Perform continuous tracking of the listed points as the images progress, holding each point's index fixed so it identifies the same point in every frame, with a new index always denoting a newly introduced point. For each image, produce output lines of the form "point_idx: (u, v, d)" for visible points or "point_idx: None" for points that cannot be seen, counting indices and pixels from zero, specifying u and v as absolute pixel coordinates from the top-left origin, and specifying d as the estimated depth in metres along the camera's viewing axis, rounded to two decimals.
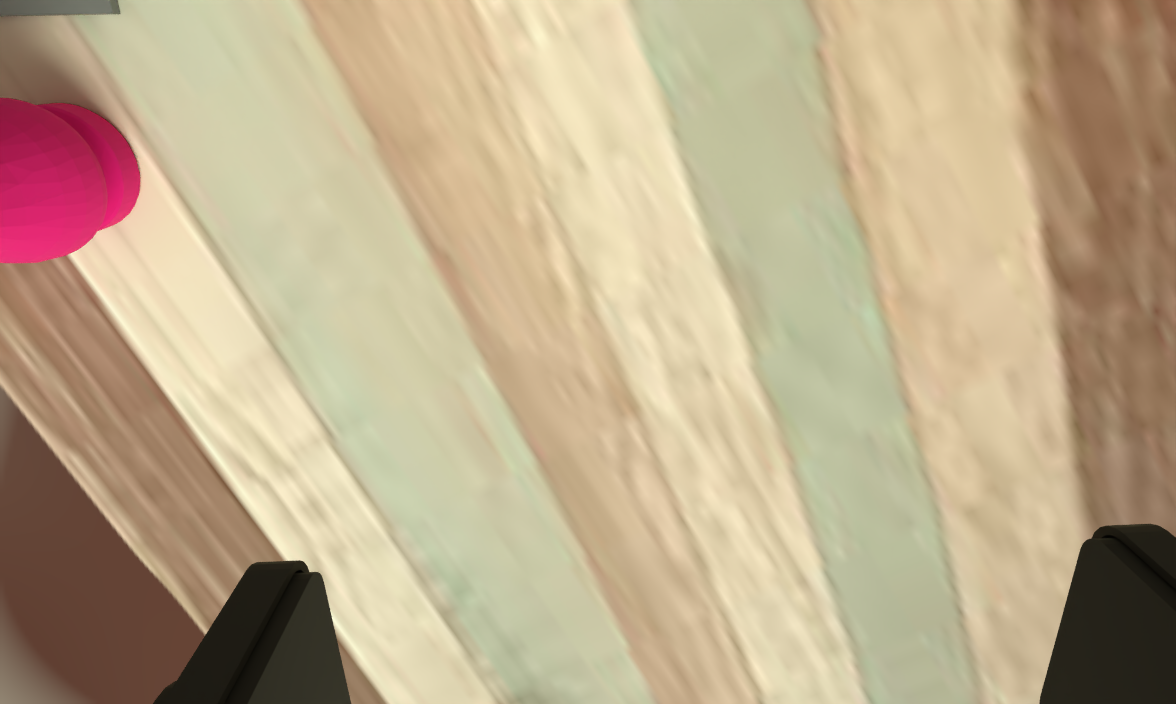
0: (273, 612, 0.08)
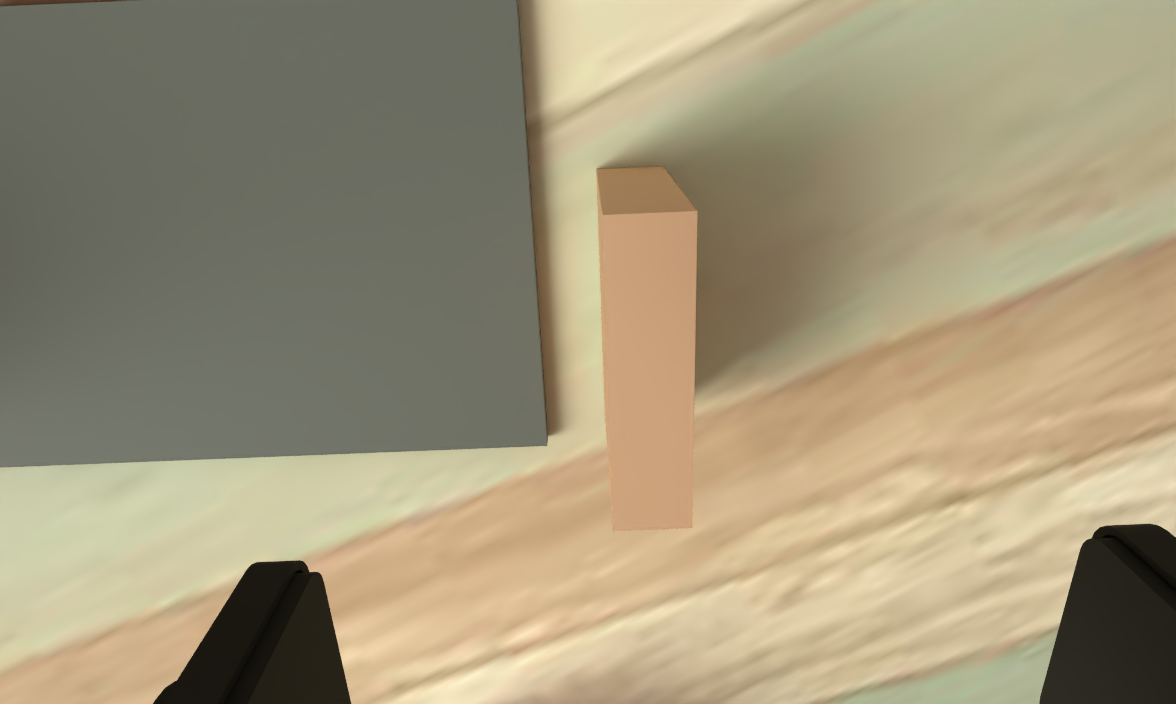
0: (273, 612, 0.08)
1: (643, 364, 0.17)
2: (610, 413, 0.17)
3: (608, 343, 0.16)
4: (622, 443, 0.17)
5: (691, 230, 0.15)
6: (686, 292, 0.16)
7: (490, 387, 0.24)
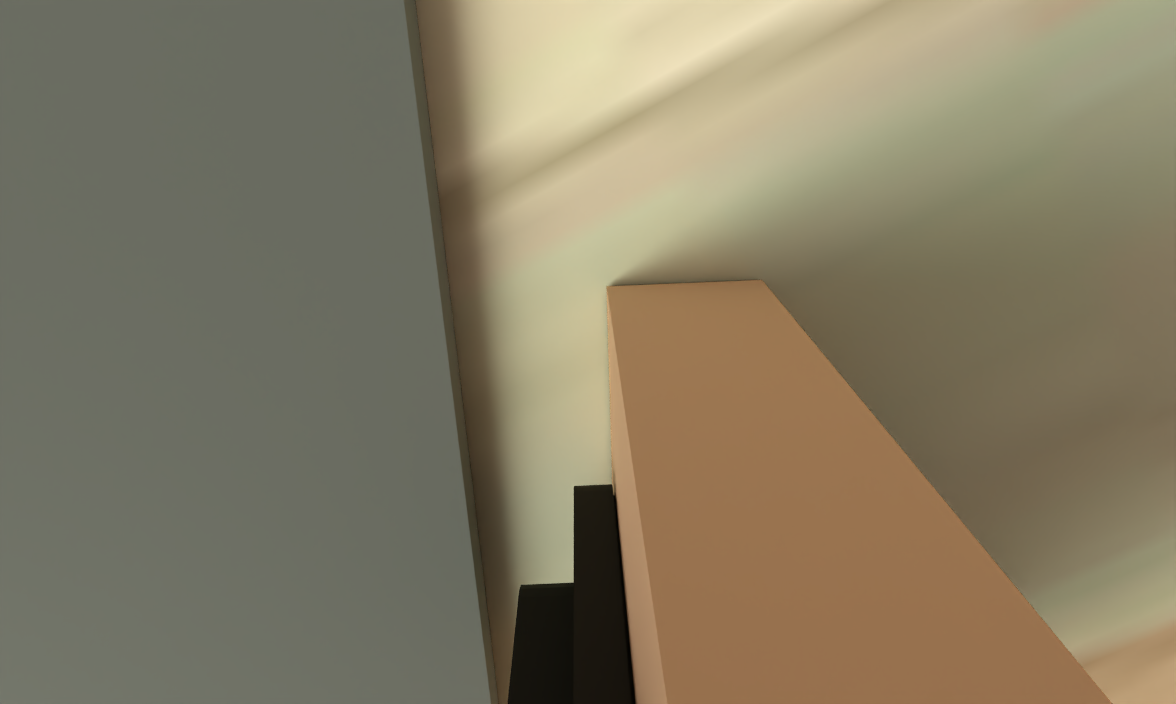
0: (617, 522, 0.09)
1: None
2: None
3: None
4: None
5: None
6: None
7: None
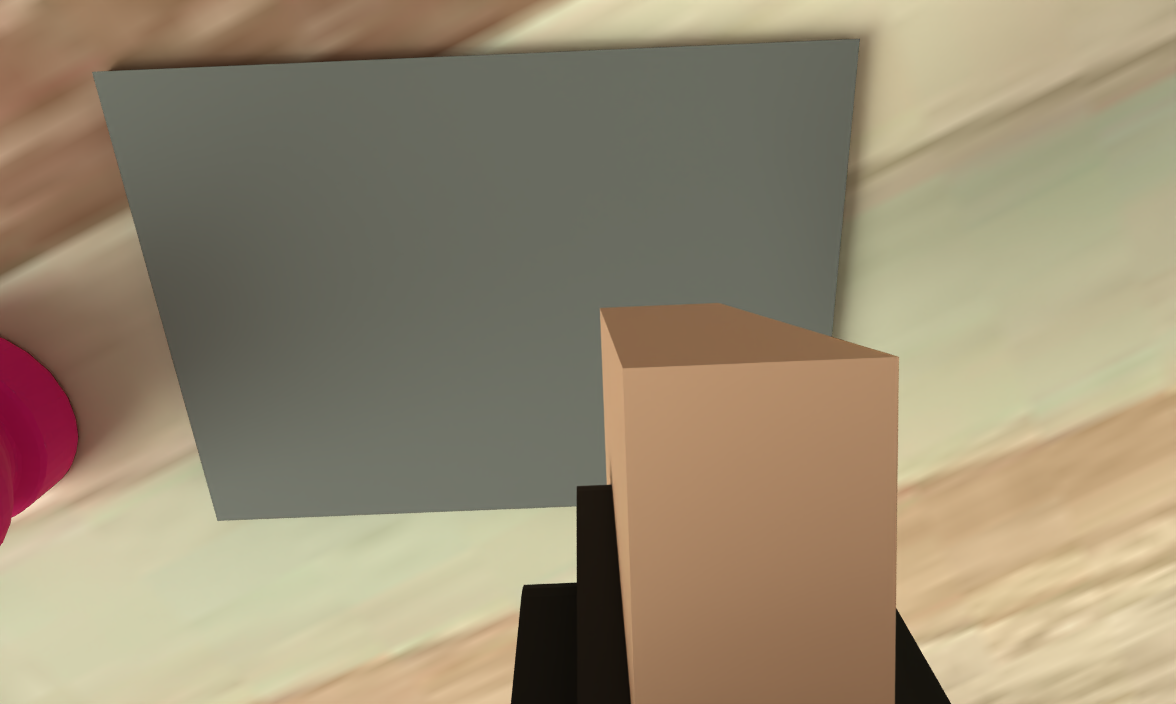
0: None
1: None
2: None
3: None
4: None
5: (880, 413, 0.05)
6: (868, 593, 0.05)
7: None
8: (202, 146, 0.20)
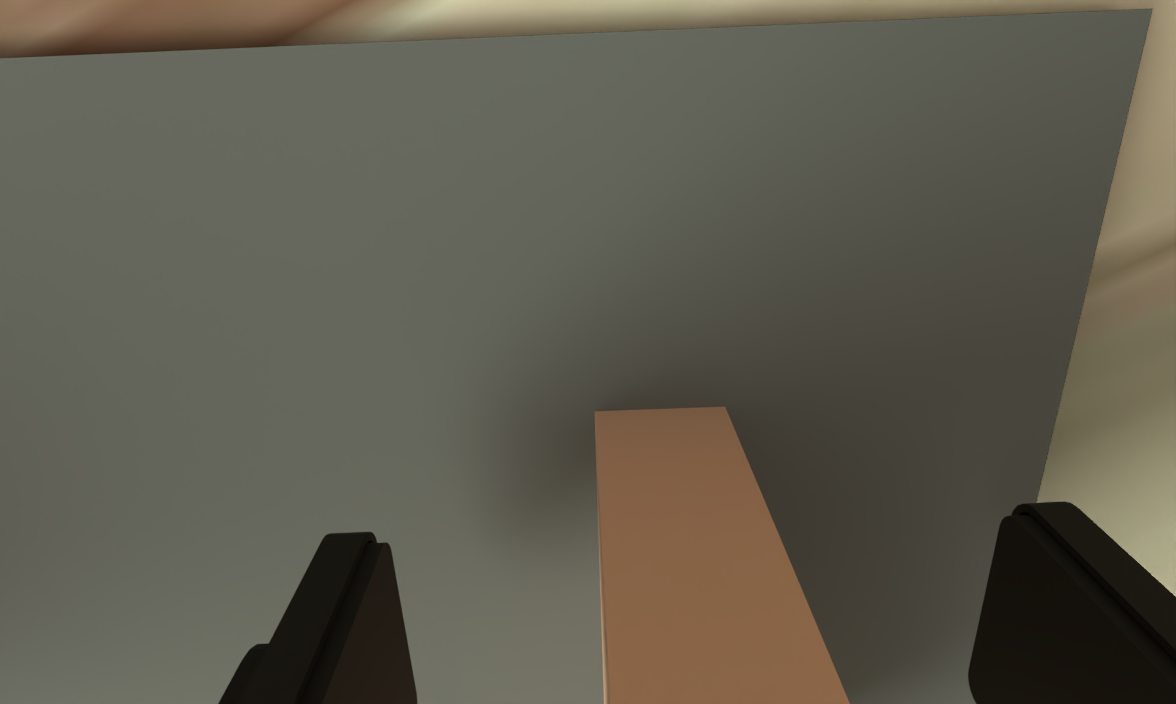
0: (352, 577, 0.08)
1: None
2: None
3: None
4: None
5: None
6: None
7: None
8: None
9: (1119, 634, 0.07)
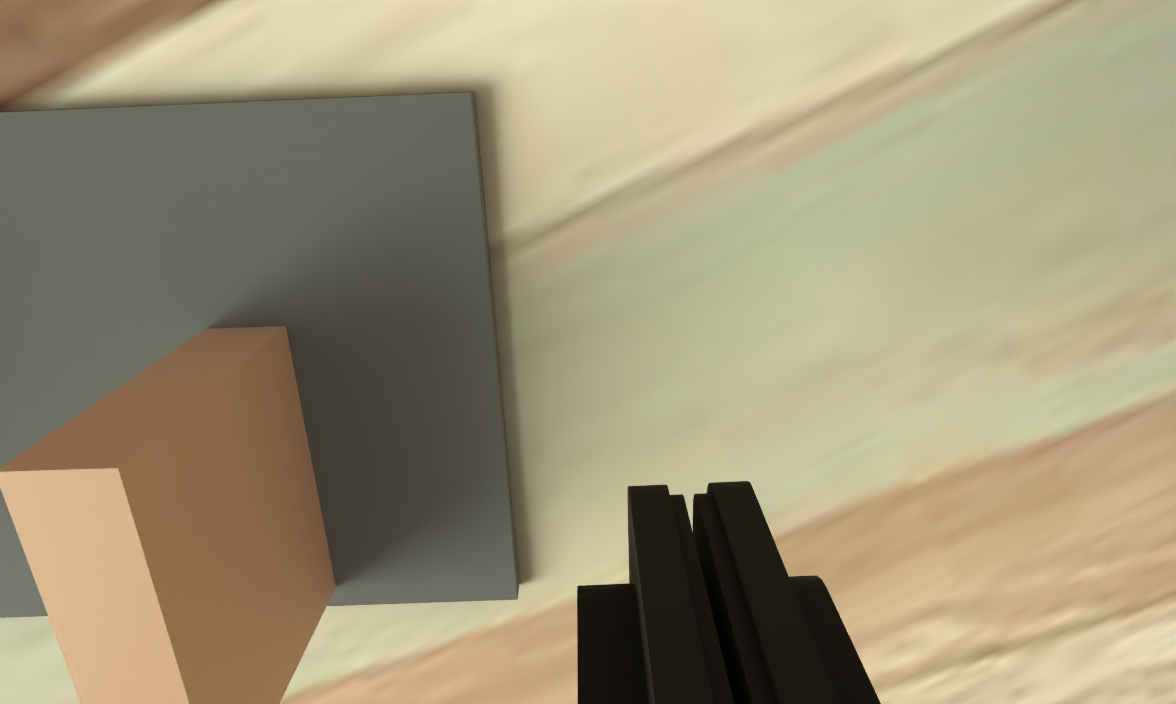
0: (675, 523, 0.09)
1: (104, 639, 0.13)
2: (80, 693, 0.13)
3: (50, 617, 0.13)
4: None
5: (119, 489, 0.12)
6: (133, 560, 0.12)
7: (451, 537, 0.20)
8: None
9: (725, 597, 0.08)
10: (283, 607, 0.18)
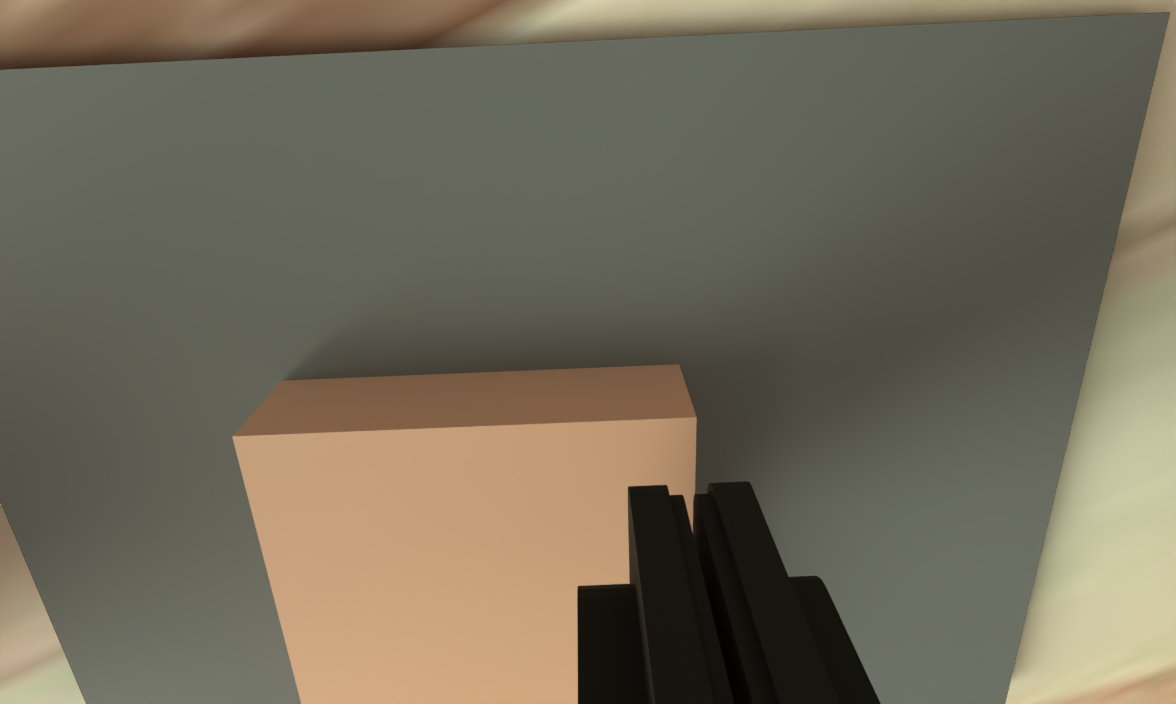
0: (676, 522, 0.09)
1: None
2: None
3: None
4: None
5: (243, 456, 0.11)
6: None
7: (941, 633, 0.15)
8: (29, 204, 0.12)
9: (726, 597, 0.08)
10: None
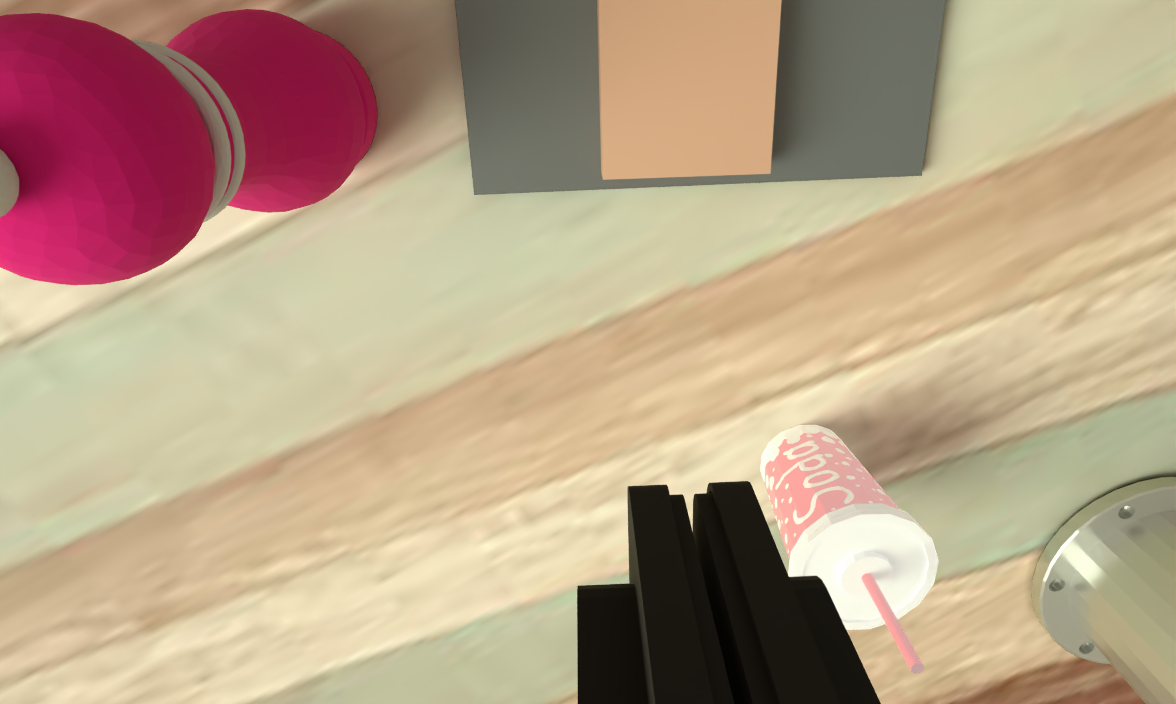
0: (676, 523, 0.09)
1: (599, 62, 0.30)
2: (599, 93, 0.31)
3: (598, 47, 0.30)
4: None
5: None
6: (598, 15, 0.28)
7: (889, 125, 0.32)
8: None
9: (725, 597, 0.08)
10: (699, 130, 0.30)
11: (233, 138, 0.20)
